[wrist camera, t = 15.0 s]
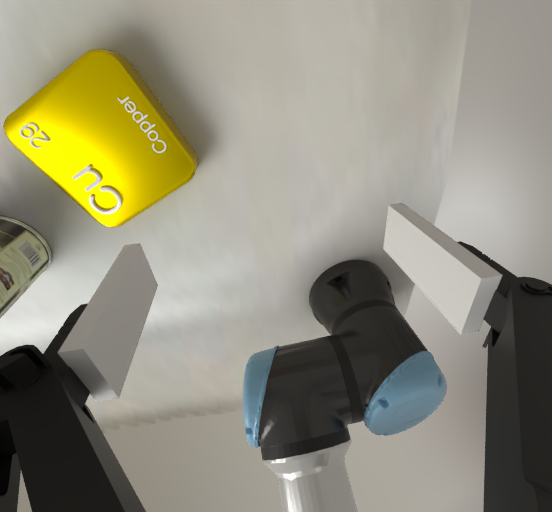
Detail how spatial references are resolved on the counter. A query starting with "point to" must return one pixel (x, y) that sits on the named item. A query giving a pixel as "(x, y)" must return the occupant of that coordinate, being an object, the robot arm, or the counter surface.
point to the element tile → (103, 138)
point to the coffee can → (19, 260)
